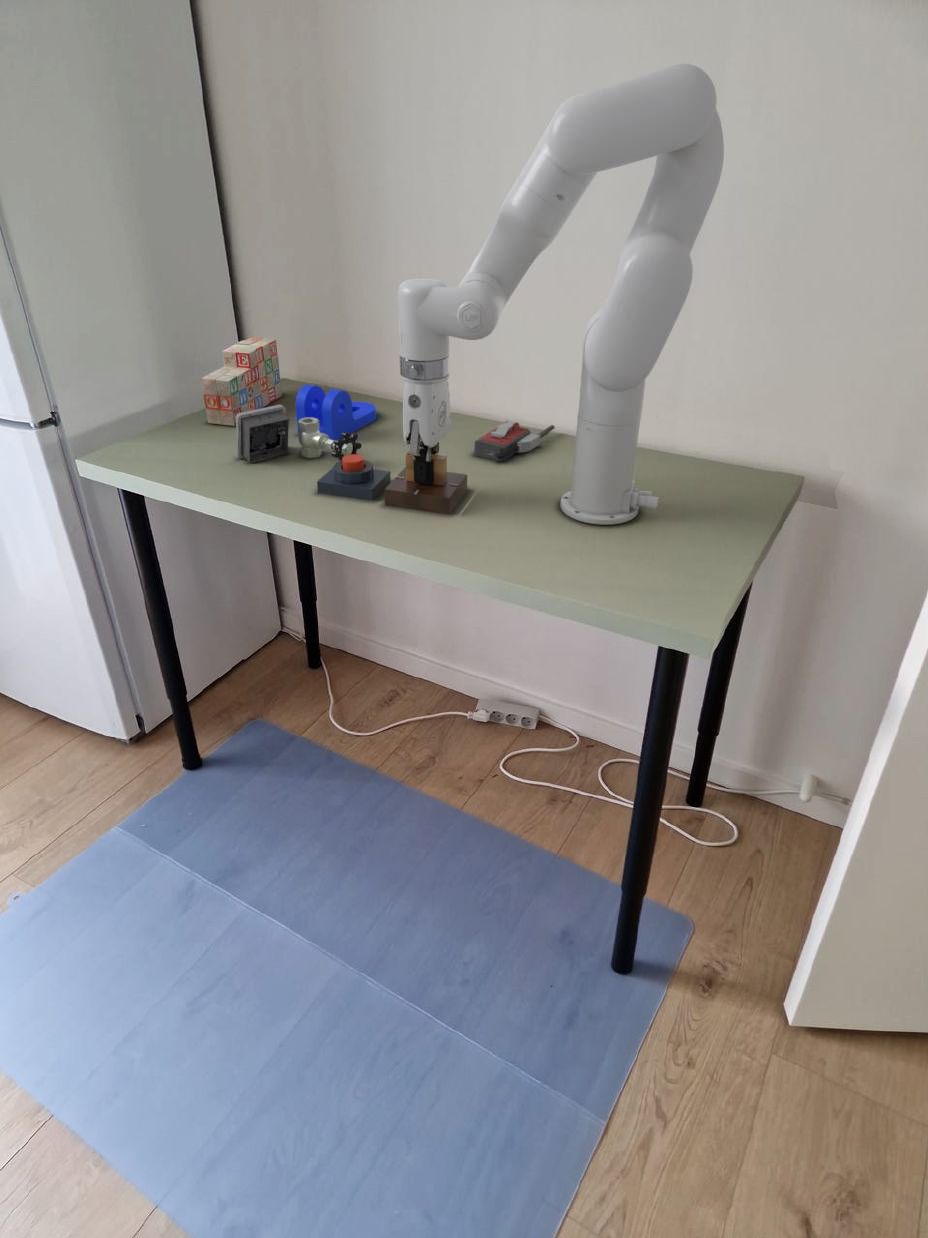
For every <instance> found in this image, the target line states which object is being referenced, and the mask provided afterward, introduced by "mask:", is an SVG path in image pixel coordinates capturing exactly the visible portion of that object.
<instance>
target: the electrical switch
mask: <svg viewBox="0 0 928 1238" xmlns="http://www.w3.org/2000/svg"><path fill="white" fill-rule="evenodd" d="M286 409H287V408H286V407H285V406H284V405H282V404H276V405H272V406H267V407H266V406H265V407H263V408H261V409H256V410H252V411H247V412H242V413H238V414H237V415H236V425H235V429H236V430H235V436H236V439H235V441H236V455H237V457H238V458H239V459H240V460H241V459H245V460H246V461H247V462H248V463H249V464H252V463H257V462H261V461H265V460H270V459H272V458H273V457H277V456H281V455H285V454H287V455H288V453H289V426H290V419H289V417H287V415H286V411H287V410H286Z"/></svg>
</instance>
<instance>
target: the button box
mask: <svg viewBox="0 0 928 1238" xmlns="http://www.w3.org/2000/svg"><path fill="white" fill-rule="evenodd" d="M391 482H392V481H391V470H383V469H376V468H374V465H373V462H371V461H369V460H366V459H364V469H362V470H359V471H345V470H343V465H342V461H340V462H338V461H337V463H336V462H335V464H334V465H333V467H332V468H330V470H328V471H327V472H326V473H324V475H322V476H321V477H320V478H319V479H318V480H317V481H316V485H317V487H316V488H317V493H318V494H322V495H328V496H336V497H342V498H348V499H349V498H350V499H356V500H364V501H370V502H373V501H375V500H376V499H377V497H379V495H381V493H382V492H384V489H385V488H386V487H387V486H388V485H389V484H390V483H391Z"/></svg>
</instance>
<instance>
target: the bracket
mask: <svg viewBox="0 0 928 1238" xmlns="http://www.w3.org/2000/svg"><path fill="white" fill-rule="evenodd" d="M295 415H296V423H297V434H298V436H299V432H300V431H299V425H298V422H299V420H300V419H302V418H306V417H313V418H317V419H318V420H319V426H320V428H319V431H320V433H324V434H327V435H328V436H329V438H330V440H333V441H335V439H339V440H342V439H343V438H344V436H342V432H344V431H345V432H348V433H349V434H351V433H355V432H356V431H358V430H360V429H361V428H363V427H365V426H367V425H369V424H371V423H372V422H374V421H375V420H376V419H377V407H376V406H375V405H374V403H371V402H367V401H352V398H351V396H350V394H349V393H348V392H347V391H346V390H341V389H335V388H333V389H330V390H329V391H328V392H327V393H325V391H324V390H323V388H322V387H321V386H319V385H315V384H304V385H302V387H300V388H299V390H298V391H297V394H296V397H295Z"/></svg>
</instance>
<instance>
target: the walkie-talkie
mask: <svg viewBox="0 0 928 1238" xmlns="http://www.w3.org/2000/svg"><path fill="white" fill-rule="evenodd" d="M555 428H556V427H555V425H553V424H551V425H549V426H548V427H546V428H545V429H543V430H542V431H540V432H539V433H532V432H531V430H530V429H529V428H527V427H523V426H520V423H519V422H517V421H511V420H506V421H504V422H503V423H501V424H499V425H498V426H497V427H496V428H494V429H492V430H491V431H489V432H487V433H486V434H484V435H483V436H481V437H479V438H477V439H476V440H474V449H473V453H474V455H475V456H476V457H478V458H483V459H487V460H492V461H497V462H505V461H506V460H507V459H509V458H510V457H512V456H513V455H515V454H517V453H518V454H520V453H528V452H531V451H532V450H533V449H535V448H536V447H539V446H540V445H541V440H542V438H544V437H545V436H547V435H548V434H549V433H550V432H552V431H553V430H554V429H555Z"/></svg>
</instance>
